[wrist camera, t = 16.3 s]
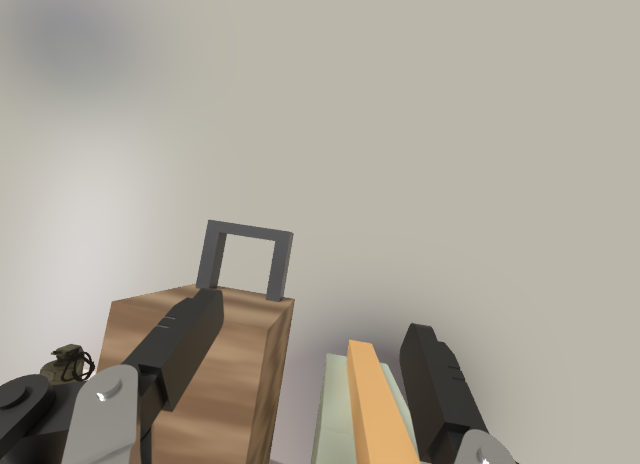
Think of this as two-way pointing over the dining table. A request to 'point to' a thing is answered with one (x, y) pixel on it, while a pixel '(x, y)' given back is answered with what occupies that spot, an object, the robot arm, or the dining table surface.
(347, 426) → the sage green upright block
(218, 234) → the dark gray square arch
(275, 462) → the dining table surface
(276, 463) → the dining table surface
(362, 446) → the bar
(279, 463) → the dining table surface
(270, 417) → the walnut post
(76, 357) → the olive stun grenade
